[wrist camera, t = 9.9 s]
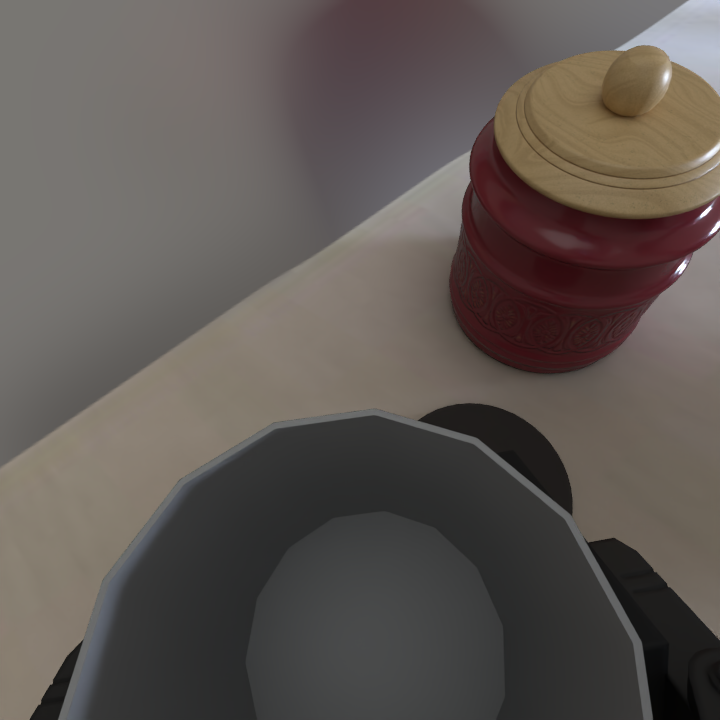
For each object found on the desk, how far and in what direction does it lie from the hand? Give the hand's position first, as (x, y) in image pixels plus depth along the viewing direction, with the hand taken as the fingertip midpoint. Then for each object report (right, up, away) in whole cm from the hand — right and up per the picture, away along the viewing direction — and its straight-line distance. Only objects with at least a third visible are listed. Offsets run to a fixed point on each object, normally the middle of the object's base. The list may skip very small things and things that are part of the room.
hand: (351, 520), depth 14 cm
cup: (+1, -5, +2) cm, 5 cm away
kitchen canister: (+13, +9, +21) cm, 27 cm away
